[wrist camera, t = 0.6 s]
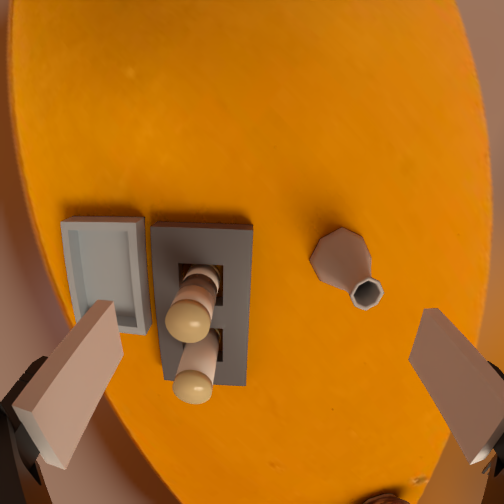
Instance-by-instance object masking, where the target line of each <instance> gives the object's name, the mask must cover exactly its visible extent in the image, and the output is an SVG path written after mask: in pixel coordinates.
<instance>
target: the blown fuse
mask: <svg viewBox="0 0 504 504" xmlns="http://www.w3.org/2000/svg"><path fill="white" fill-rule="evenodd" d="M220 280H221V275H220V271H219V269H218V268H217V267H216V266H215V265H208V264H192V265H191V266H190V268H189V270H188V272H187V274H186V276H185V278H184V280H183V282H182V284H181V286H180V288H179V290H178V292H177V294H176V296H175V298H174V300H173V302H172V304H171V306H170V308H169V310H168V313H167V315H166V318H165V324H166V328H167V330H168V331H169V333H170V334H171V335H172V336H173V337H174V338H176V339H177V340H179V341H182V342H186V343H195V342H198V341H201V340H202V339H204V338H205V337H206V336H207V334H208V332H209V328H210V324H211V319H212V315H213V310H214V306H215V302H216V297H217V293H218V289H219V284H220Z"/></svg>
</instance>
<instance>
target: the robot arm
mask: <svg viewBox="0 0 504 504" xmlns="http://www.w3.org/2000/svg"><path fill="white" fill-rule="evenodd" d="M123 355H124V354H123V350H122V345H121V340H120V334H119V329H118V324H117V318H116V312H115V306H114V301H108V300H97V301H96V302H95V303H94V304H93V305H92V307H91V308H90V309H89V310H88V311H87V312H86V313H85V315H84V316H83V317H82V318H81V319H80V320H79V321H78V323H77V324H76V325H75V326H74V327H73V328H72V330H71V331H70V332H69V333H68V334H67V336H66V337H65V338H64V339H63V340H62V341H61V343H60V344H59V345H58V346H57V348H56V349H55V350H54V351H53V352H52V354H51V355H50V356H49V357H45V356H42V357H41V358H39V359H37V360H36V361H34V362H33V363H32V364H31V365H30V366H29V367H28V369H27V370H26V371H25V374H23V375H22V376H21V377H20V378H19V381H17V382H16V383H15V385H14V386H13V387H12V388H11V390H10V391H9V392H8V393H7V395H6V396H5V397H4V399H3V400H2V401H1V402H0V504H52V501H51V498H50V496H49V493H48V490H47V488H46V485H45V482H44V479H43V476H42V473H41V470H40V467H39V464H38V463H37V461H36V459H37V457H38V455H39V453H40V454H41V455H42V457H43V458H44V460H45V461H46V463H48V464H51V465H54V466H56V467H59V468H62V469H65V470H66V468H67V465H68V463H69V461H70V459H71V457H72V455H73V452H74V450H75V449H76V446H77V444H78V442H79V440H80V438H81V436H82V434H83V432H84V430H85V428H86V426H87V424H88V422H89V420H90V418H91V416H92V414H93V412H94V410H95V408H96V406H97V404H98V402H99V400H100V398H101V396H102V394H103V393H104V391H105V389H106V387H107V385H108V383H109V381H110V379H111V377H112V376H113V374H114V372H115V370H116V368H117V366H118V364H119V363H120V361H121V359H122V357H123ZM408 360H409V362H410V363H411V365H412V366H413V368H414V370H415V371H416V373H417V374H418V376H419V378H420V379H421V381H422V383H423V384H424V386H425V387H426V389H427V391H428V392H429V394H430V396H431V397H432V399H433V401H434V402H435V404H436V406H437V407H438V409H439V411H440V413H441V414H442V416H443V418H444V420H445V421H446V423H447V425H448V426H449V428H450V430H451V432H452V434H453V435H454V437H455V439H456V441H457V442H458V444H459V446H460V448H461V450H462V452H463V453H464V455H465V457H466V459H467V461H468V463H469V464H470V465H471V464H473V463H476V462H478V461H481V460H483V459H485V458H486V457H487V455H488V454H489V453H490V451H491V450H492V449H494V450H495V452H496V454H495V456H494V457H493V458H492V460H491V461H490V462H489V463H488V464H487V466H486V467H485V468H484V469H483V471H482V473H483V474H484V473H485V472H486V471H487V470H488V468H490V472H489V473H488V475H489V476H488V480H487V485H486V488H485V492H484V496H483V500H482V503H481V504H504V374H503V373H502V371H501V370H500V369H499V368H498V367H497V366H495V365H494V364H492V363H491V362H489V361H486V360H485V358H484V357H483V356H482V355H481V354H480V353H479V352H478V350H477V349H476V348H475V347H474V346H473V345H472V344H471V343H470V342H469V341H468V340H467V338H466V337H465V336H464V335H463V334H462V333H461V332H460V331H459V330H458V329H457V328H456V327H455V326H454V325H453V324H452V322H451V321H450V320H449V319H448V318H447V317H446V316H445V315H444V314H443V313H442V312H441V311H440V310H439V309H438V308H431V309H424V311H423V314H422V318H421V321H420V325H419V328H418V332H417V335H416V338H415V341H414V344H413V347H412V350H411V353H410V356H409V359H408Z"/></svg>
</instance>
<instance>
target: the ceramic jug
mask: <svg viewBox="0 0 504 504" xmlns="http://www.w3.org/2000/svg"><path fill="white" fill-rule="evenodd" d="M363 504H409V502H407V501H405V500H402V499H400V498H398V497H396V496H394V495H393V494H390V493H389V494H383V495H379V496H376V497H373V498H370V499H368V500H367V501H365V502H364V503H363Z"/></svg>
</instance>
